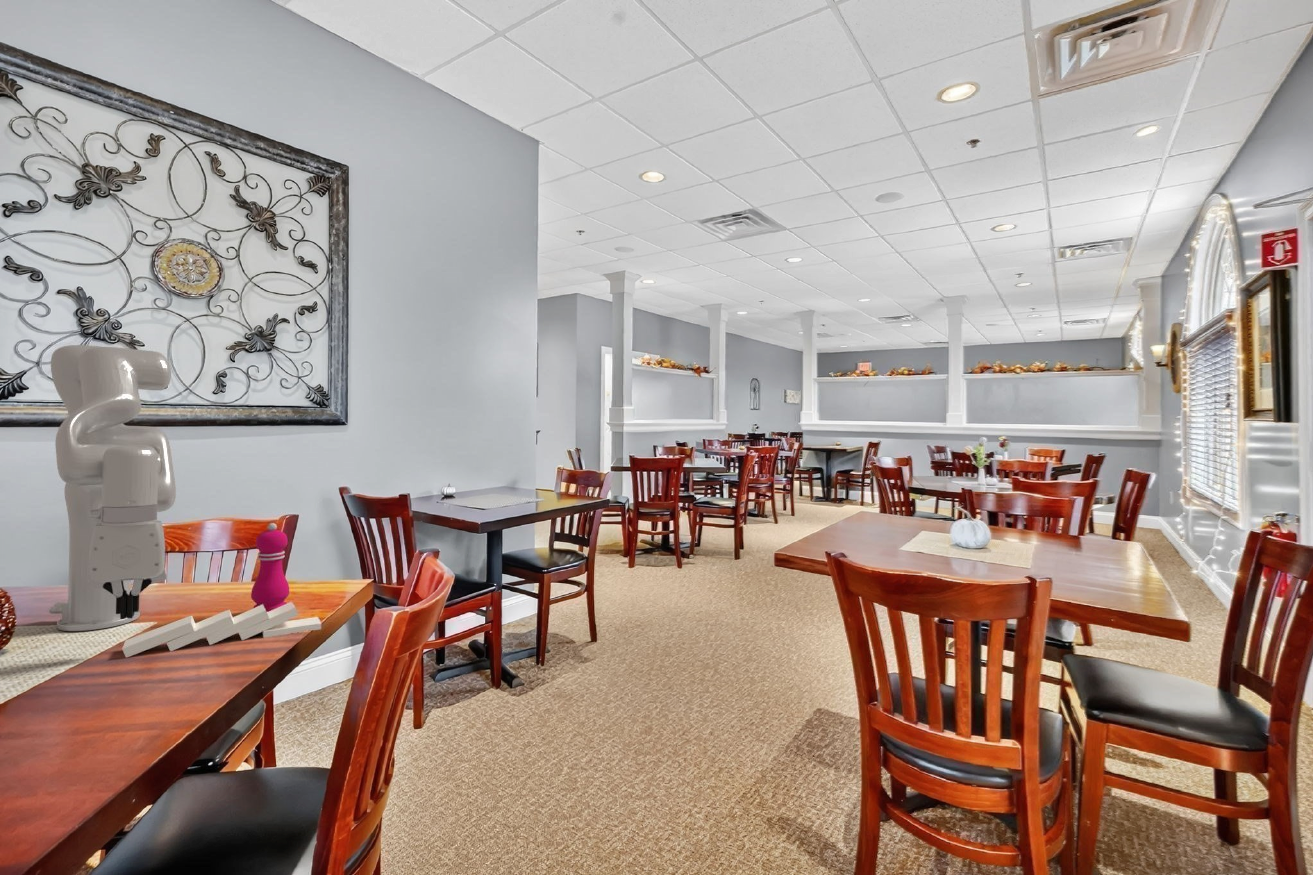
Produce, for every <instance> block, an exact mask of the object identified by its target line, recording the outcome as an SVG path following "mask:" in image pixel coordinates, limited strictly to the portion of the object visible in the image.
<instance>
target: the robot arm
mask: <svg viewBox="0 0 1313 875" xmlns="http://www.w3.org/2000/svg"><path fill="white" fill-rule="evenodd" d="M50 373H51V378H52V382H53V384H54V387H55V389H56V392H57V393H58V395H59V397H60V399H61V401H62V402H63V404H64V407H65V408H66V411H67V414H68V416H67V417H66V418H65V419H64V420H63V422H62V423H61V424H60V425H59V428H58V429H57V433H56V436H55V444H54V445H55V456H56V466H57V472H58V475H59V477H60V479H61V481H62V482H64V483H65V484H64V500H65V505H66V511H67V517H68V526H69V527H68V529H69V532H68V533H69V541H68V542H69V546H68V547H69V548H68V549H69V550H68V588H67V589H68V590H67V591H68V592H67V594H68V595H67V597H68V598H67V601H57V602H55V603H54V605H53V606H52V607H50V609H49V613H50V614H61V619H59V620H57V621H56V629H58V630H60V631H63V632H64V631H66V632H85V631H92V630H95V631H96V630H100V629H108V628H112V627H118V626H120V625H125V624H128V623H131V622H133V621H135V620H137V619H139V617H140V614H141V613H140V611H141V610H140V593H142V592H143V591H144V590H146V588H148V587H149V586H151V585H154V584H158V583H161V582H164V581H166V580H167V579H168V578H167V577H168V576H167V573H166V569H165V567H166V540H165V532H164V528H163V523H162V520H159V519H158V513H162V512H165V511H169V510H170V509H171V508H172V507H173V506H174V504H175V502H176V495H177V491H176V489H177V488H176V481H175V471H174V465H173V459H172V451H171V445H170V441H169V438H168V436H167V434H166V433H165V431H163V430H162V429H160V428H157V427H155V426H143V425H141V426H140V425H125V423H128V422H129V421H131V420H133V419H135V418H136V417H137V416H139V414H140V412H141V410H142V403H141V397H140V393H139V390H146V391H147V390H148V391H163V390H165V389H167V387H169V385H170V382H171V379H172V370H171V364H170V362H169V359H167V357H166V356H165V355H164V354H163V353H161V352H159V351H154V350H144V349H143V350H142V349H137V348H136V349H134V348H127V347H114V346H99V345H89V344H74V345H73V344H71V345H65V346H61V347H58V348H56V349H55V350H54V351H53V353H52V354H51V359H50ZM132 581H133V582H132ZM131 585H132V586H131Z"/></svg>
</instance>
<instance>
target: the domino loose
mask: <svg viewBox="0 0 1313 875" xmlns="http://www.w3.org/2000/svg"><path fill="white" fill-rule="evenodd" d="M195 623H196V622H195V620H194V617H193V615H188V616H186V617H183V618H181V619H178V620H175V621H173V622H171V623H168V624H166V625H165V624H164V625H163V626H160V627H158V628H154V629H151V630H149V631H147V632H143V633H141V634H139V635H136V636H134V637H133V636H132V637H131V638H128V639H125V641H124V644H123V646H122V648H121V649H122V652H123V654H124V656H125V658H126V659H127V658H130V657H132V656H134V655H137V654H139V653H142V652H144V651H146V650H150V649H152V648H155V647H157V646H160V645H162V644H165V643H167V642H168V641H170V640H173V639H175V638H178V637H181V636H183V635H186V634H188V633H191V632H193V631H194V630H195Z"/></svg>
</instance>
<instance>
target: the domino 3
mask: <svg viewBox="0 0 1313 875" xmlns="http://www.w3.org/2000/svg"><path fill="white" fill-rule="evenodd" d="M286 603H287V604H285V605H283V606H280V607H278V608H276V609H274V610H271V611H269V612H267V614H268V616H269V619H267V620H264V621H262V622H260V623H258V624H256V625H253V626H251V627H249V628H247V629H245V630H242V631H240V632H238V634H239V637H240V639H241V641H244V640H247V639H249V638H250V637H253V636H256V635H258V634H260V633H262V631H265V630H267V629H269V628H271V627H274V626H276V625H278V624H280V623H282V622H285V621H290V620H292V619H293V618H296V617H298V616H299V612H298V610H297V608H296V606H295V605H294V603H293V602H292V601H290V602H286Z"/></svg>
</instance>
